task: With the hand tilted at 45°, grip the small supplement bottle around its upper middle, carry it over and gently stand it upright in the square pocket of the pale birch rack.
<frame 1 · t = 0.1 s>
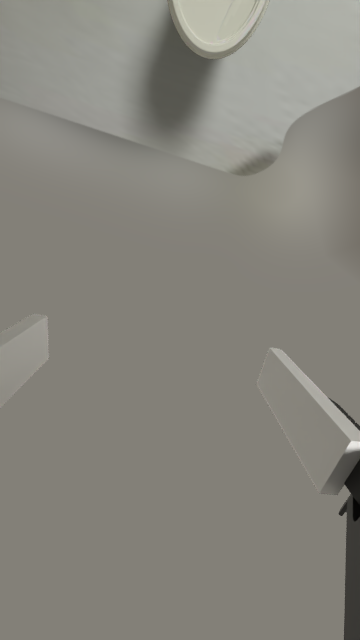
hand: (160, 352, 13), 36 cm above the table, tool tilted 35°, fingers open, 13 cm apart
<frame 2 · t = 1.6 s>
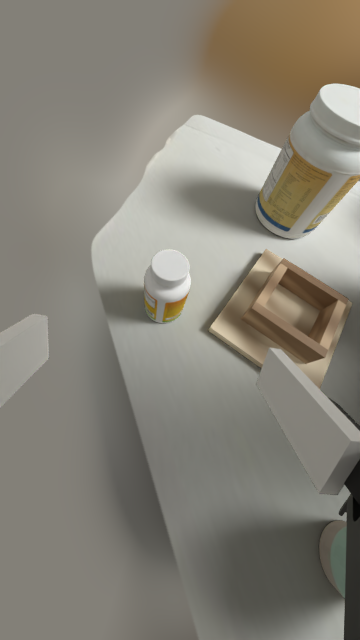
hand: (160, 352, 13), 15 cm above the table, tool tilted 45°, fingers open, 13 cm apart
birch rack: (282, 317, 33), on the table
coffee cup: (343, 554, 23), on the table
supplement tub: (281, 217, 43), on the table
supplement bottle: (163, 307, 32), on the table
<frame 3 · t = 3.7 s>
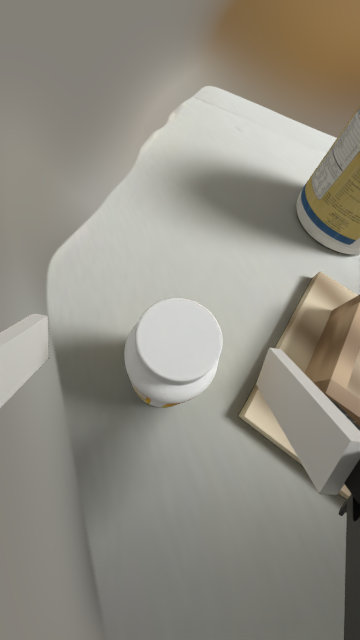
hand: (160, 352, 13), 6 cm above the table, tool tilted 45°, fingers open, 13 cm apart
birch rack: (354, 385, 21), on the table
supplement tub: (332, 223, 30), on the table
supplement bottle: (163, 373, 19), on the table
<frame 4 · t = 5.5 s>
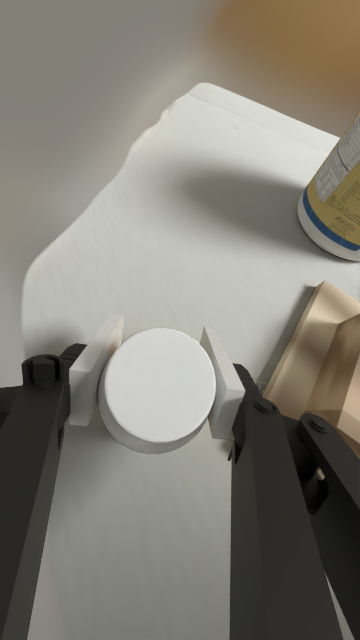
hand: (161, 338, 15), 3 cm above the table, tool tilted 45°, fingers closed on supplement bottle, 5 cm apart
supplement tub: (335, 227, 28), on the table
supplement bottle: (151, 399, 17), on the table, touching gripper
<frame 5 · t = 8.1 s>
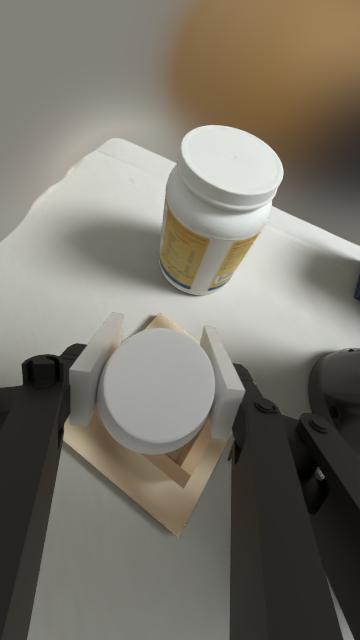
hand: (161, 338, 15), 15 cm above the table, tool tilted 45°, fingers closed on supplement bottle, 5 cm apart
birch rack: (166, 405, 27), on the table
supplement tub: (194, 266, 37), on the table
supplement bottle: (151, 399, 17), point 11 cm above the table, touching gripper
when the fingers open (6 cm above the table, at t = 10.9 s): supplement bottle drops 2 cm, resting on birch rack.
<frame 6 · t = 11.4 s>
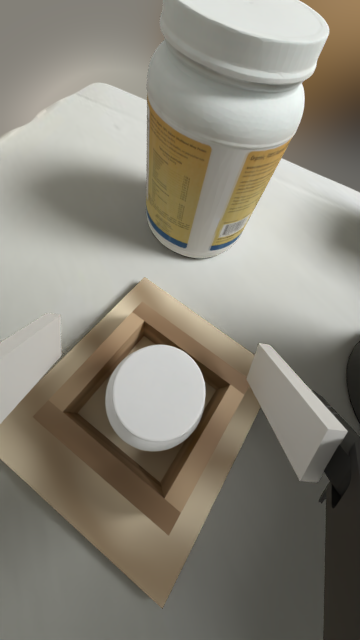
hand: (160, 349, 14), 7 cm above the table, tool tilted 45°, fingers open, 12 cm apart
birch rack: (150, 401, 19), on the table
supplement tub: (192, 225, 29), on the table
supplement bottle: (152, 401, 18), point 1 cm above the table, touching birch rack
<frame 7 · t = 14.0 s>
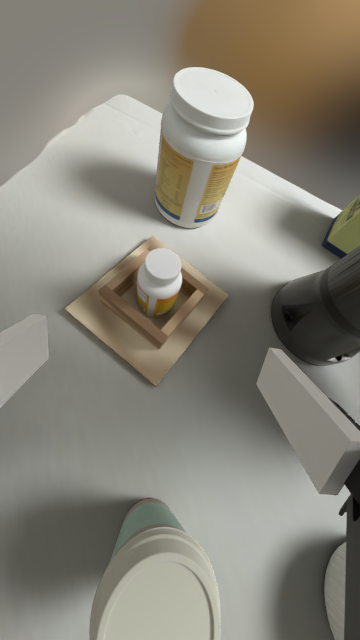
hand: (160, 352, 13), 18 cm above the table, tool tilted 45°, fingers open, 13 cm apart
birch rack: (153, 304, 34), on the table
coffee cup: (148, 529, 24), on the table
supplement tub: (185, 206, 43), on the table
supplement bottle: (154, 302, 33), point 1 cm above the table, touching birch rack
protein box: (356, 251, 48), on the table
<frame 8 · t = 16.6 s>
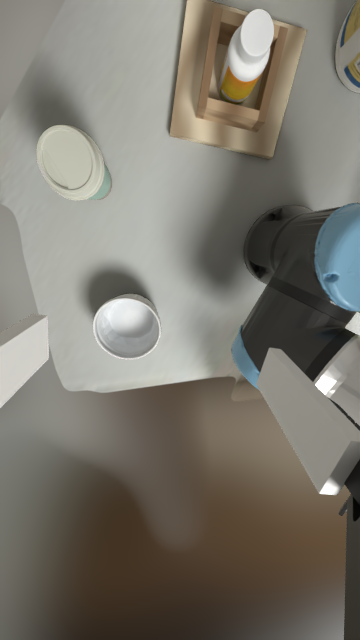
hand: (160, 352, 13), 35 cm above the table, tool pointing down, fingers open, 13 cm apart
birch rack: (232, 88, 36), on the table
coffee cup: (96, 181, 40), on the table
supplement bottle: (234, 86, 35), point 1 cm above the table, touching birch rack
ramekin: (132, 317, 49), on the table
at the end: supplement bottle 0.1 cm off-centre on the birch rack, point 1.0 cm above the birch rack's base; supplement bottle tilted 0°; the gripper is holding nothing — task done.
